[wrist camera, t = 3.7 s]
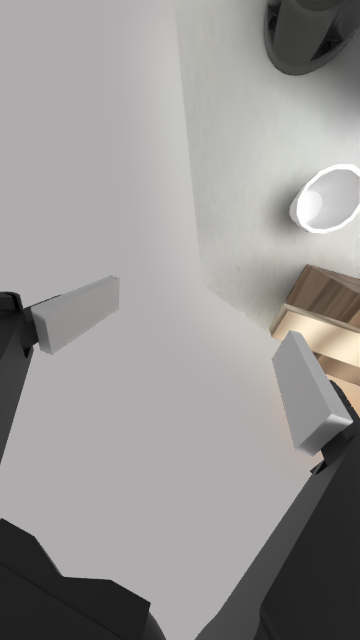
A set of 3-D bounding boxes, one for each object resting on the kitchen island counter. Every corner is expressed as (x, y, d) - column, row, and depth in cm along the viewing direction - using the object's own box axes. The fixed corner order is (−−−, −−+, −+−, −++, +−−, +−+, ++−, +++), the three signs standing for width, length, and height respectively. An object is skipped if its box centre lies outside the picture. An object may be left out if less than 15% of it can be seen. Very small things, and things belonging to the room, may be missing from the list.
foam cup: (275, 228, 44) (287, 229, 33) (290, 180, 39) (309, 163, 28) (319, 233, 42) (348, 235, 31) (340, 183, 37) (382, 165, 26)
